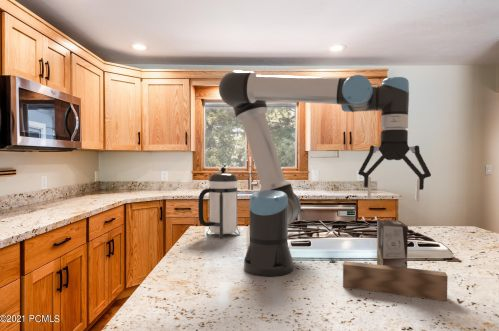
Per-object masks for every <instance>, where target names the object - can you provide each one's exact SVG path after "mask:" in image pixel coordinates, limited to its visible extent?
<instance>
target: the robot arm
mask: <svg viewBox="0 0 499 331" xmlns="http://www.w3.org/2000/svg"><path fill="white" fill-rule="evenodd" d="M409 84H410V82H409V79H408V78H406V77H404V76H392V77H387V78H385V79H383V80H382V82H381V85H375V86H374V85H372V83H371V81H370V80H369V78H368V77H366V76H365V75H362V74H354V75H351V76H349V77H338V76H337V77H335V76H334V77H333V76H331V77H330V76H329V77H328V76H302V75H301V76H300V75H299V76H298V75H295V76H294V75H267V74H266V75H261V74H258V73H257V72H256V71H246V70H245V71H243V70H232V71H230V72H228V73H227V74H224V76H222V78H221V79H220V81H219V84H218V93H219V95H220V98H221V100H222V101H223V102H224V103H225V104H226V105H228V106H230V107H232V109H233V111H234V114H235V118H236V120H237V121H239V122H240V123H242V127H243V130H244V133H245V137H246V139H247V143H248V146H249V149H250V154H251V156H252V160H253V163H254V166H255V170H256V173H257V177H258V180H259V182H260V186H261V187H260V188H259V190H258V191H256V192H254V193H252V194H251V195H250V199H249V205H248V207H249V208H248V209H249V244H248V247H247V251H246V254H245V258H244V261H243V269H244V271H245V272H247V273H249V274H252V275H256V276H262V277H277V276H283V275H287V274H290V273H291V272H293V271H294V259H293V257H292V254H291V249H290V247H289V244H288V233H289V232H288V231H289V230H288V226H289V225H290V224H293V223H294V222H295V221H296V220H297V219H298V217H299V214H300V212H301V206H302V205H301V200H300V199H299V197H298V196H297V194H296V193H294V189H293V187H292V186H293V185H292V183H291V182H290V181H288V180H286V179H285V175H284V172H283V169H282V165H281V162H280V160H279V156H278V152H277V149H276V146H275V143H274V140H273V137H272V133H271V130H270V127H269V123H268V120H267V116H266V114H267V112H268V110H269V109H268V106H267V102H269V101H270V102H284V103H285V102H287V103H288V102H289V103H309V104H330V105H340V107H341V110H342V111H343V112H347V113H349V112H351V113H356V112H371V111H373V112H374V111H375V112H377V111H378V112H379V111H381V119H380V122H381V123H380V128H381V129H382V130H381V132H380V145H379V146H377V145H373V144H372V145H370V146H369V152H368V154H367V156H366V158H365V159H364V161H363V163H362V165H361V167H360V168H359V170H358V175H359V176H362V177H363V180H364V181H363V187H364V188H367V199H368V200H369V199H370V200H371V194H372V193H371V191H372V190H371V186H372V184H371V183H372V177H371V176H370V175H371V174H372V173H373V172H374V171H375V170H376V169H377V168H378V166H379V165H380V164H381V163H382V162H383V161H384V160H387V161H393V160H395V161H401V160H403V161H404V162H405V164H406V165H407V166H408V167H409V169H411V170H412V172H414V174H415V175H416V176H417V177H418V178H416V179H415V201H416V202H419V201H420V191H422V190H423V191H424V187H425V186H424V185H425V179H426V178H427V179H428V178H429V177H430V178H431V177H432V174H431V172H430V170H429V167H428V166H427V164H426V162H425V160H424V159H423V156H422V154H421V152H420V150H421V149H420V145H413V146H409V142H408V141H409V140H408V139H409V138H408V137H409V136H408V134H409V131H408V130H407V129H408V127H409V104H410V85H409ZM377 151H379V152H380V154H381V156H380V157H379V158H378V159H377V160H376V161H375V162H374V164H372V166H371V167H370V168H368V170H367V171H366V172H365V169H366V168H367V166H368V164H369V163H370V161H371V159H372V157H373V155H374V154H375V153H377ZM409 152H411V153H412V154H414V155H415V158H416V160H417V161H418V163H419V166H420V168H421V170H422V172H423V173H422V172H421V171H420V170H419V169H418V168H417V166H416V165H415V164H414V163H413V161H411V160H410V159H409V157H407V156H408V155H407V154H408V153H409Z"/></svg>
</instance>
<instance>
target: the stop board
mask: <svg viewBox="0 0 499 331" xmlns="http://www.w3.org/2000/svg"><path fill="white" fill-rule="evenodd" d="M448 280H449V279H448V275H447V272H446V271H438V270H431V269H430V270H429V269H419V268H412V267H411V268H409V267H407V268H403V267H394V266H385V265H377V263H376V264H375V263H365V262H358V261H357V262H356V261H347V260H344V261H343V264H342V287H343V288H347V289H355V290H356V289H357V290H363V291H369V292H370V291H371V292H378V293H385V294H394V295H401V296H407V297H415V298H422V299H429V300H435V301H436V300H437V301H443V302H448Z"/></svg>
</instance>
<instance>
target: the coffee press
mask: <svg viewBox="0 0 499 331" xmlns="http://www.w3.org/2000/svg"><path fill="white" fill-rule="evenodd" d="M226 170H227V169H226V167H223V166H222V167H221V168H220V172H216V173H212V174H210V176H209V178H208V182H209V184H208V185H209V187H207V188H205V189H203V190H201V191H200V192H199V195H198V196H199V197H198V206H197V207H198V221H199V223H200V225H202V226H204V227H208V230H207V231H206V235H207V236H209V235H210V234H216V235H218V236H219V239H224V235H230V234H233V233H234V234H236V235H237V236H240V234H241V231H240V230H239V229H238V187H237V186H238V177H237V175H236V174H234V173H231V172H226ZM206 194H208V221H207V222H206V221H205V219H204V198H205V195H206ZM209 231H210V233H208V232H209ZM237 231H238V232H237Z"/></svg>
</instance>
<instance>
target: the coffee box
mask: <svg viewBox="0 0 499 331" xmlns="http://www.w3.org/2000/svg"><path fill="white" fill-rule="evenodd" d="M376 224H377V226H376V229H377V230H376V238H377V239H376V265H385V266H394V267H403V268H408V243H409V242H408V241H409V240H408V238H409V236H408V234H409V233H408V231H409V226H408V225H407V224H405V223H404V222H403V221H401V220H395V219H393V220H392V219H391V220H387V219H386V220H380V219H379V220H378V219H377V222H376Z"/></svg>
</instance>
